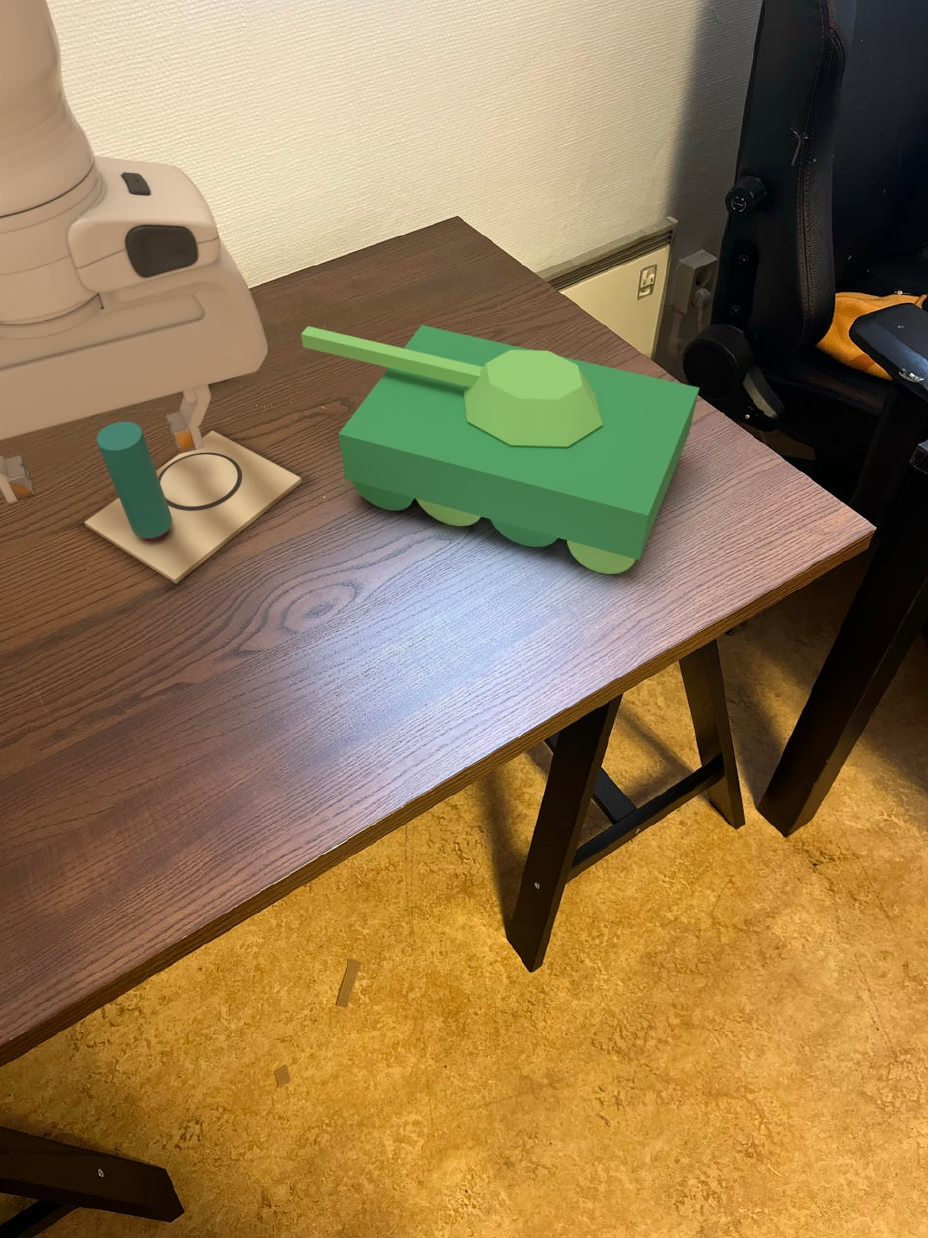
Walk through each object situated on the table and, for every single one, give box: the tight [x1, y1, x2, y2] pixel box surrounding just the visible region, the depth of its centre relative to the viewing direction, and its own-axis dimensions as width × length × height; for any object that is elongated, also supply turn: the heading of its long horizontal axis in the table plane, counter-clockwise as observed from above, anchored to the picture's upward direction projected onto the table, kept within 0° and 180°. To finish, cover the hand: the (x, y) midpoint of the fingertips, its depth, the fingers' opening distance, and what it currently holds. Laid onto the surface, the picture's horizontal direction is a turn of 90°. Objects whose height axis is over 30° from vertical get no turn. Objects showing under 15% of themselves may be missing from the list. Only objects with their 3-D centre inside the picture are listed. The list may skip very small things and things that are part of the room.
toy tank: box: [300, 324, 700, 575], centre depth 85 cm, size 18×12×35 cm
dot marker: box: [96, 421, 173, 542], centre depth 80 cm, size 4×4×11 cm
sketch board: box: [83, 430, 303, 585], centre depth 87 cm, size 16×12×1 cm
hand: (107, 468), depth 53 cm, fingers open, 8 cm apart
